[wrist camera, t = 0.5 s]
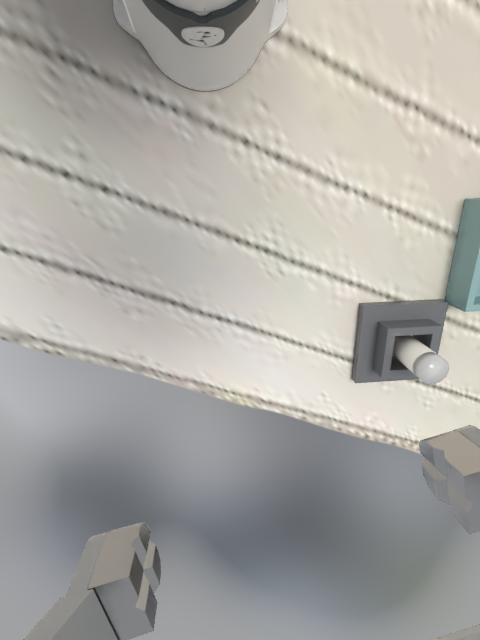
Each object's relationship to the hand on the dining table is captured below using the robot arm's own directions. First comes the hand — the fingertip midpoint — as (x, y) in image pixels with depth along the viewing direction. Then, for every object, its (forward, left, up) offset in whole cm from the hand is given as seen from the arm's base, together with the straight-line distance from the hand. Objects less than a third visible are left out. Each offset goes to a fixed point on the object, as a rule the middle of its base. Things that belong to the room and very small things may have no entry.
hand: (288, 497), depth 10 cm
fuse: (+14, +26, -40) cm, 49 cm away
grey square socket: (+14, +26, -40) cm, 49 cm away
